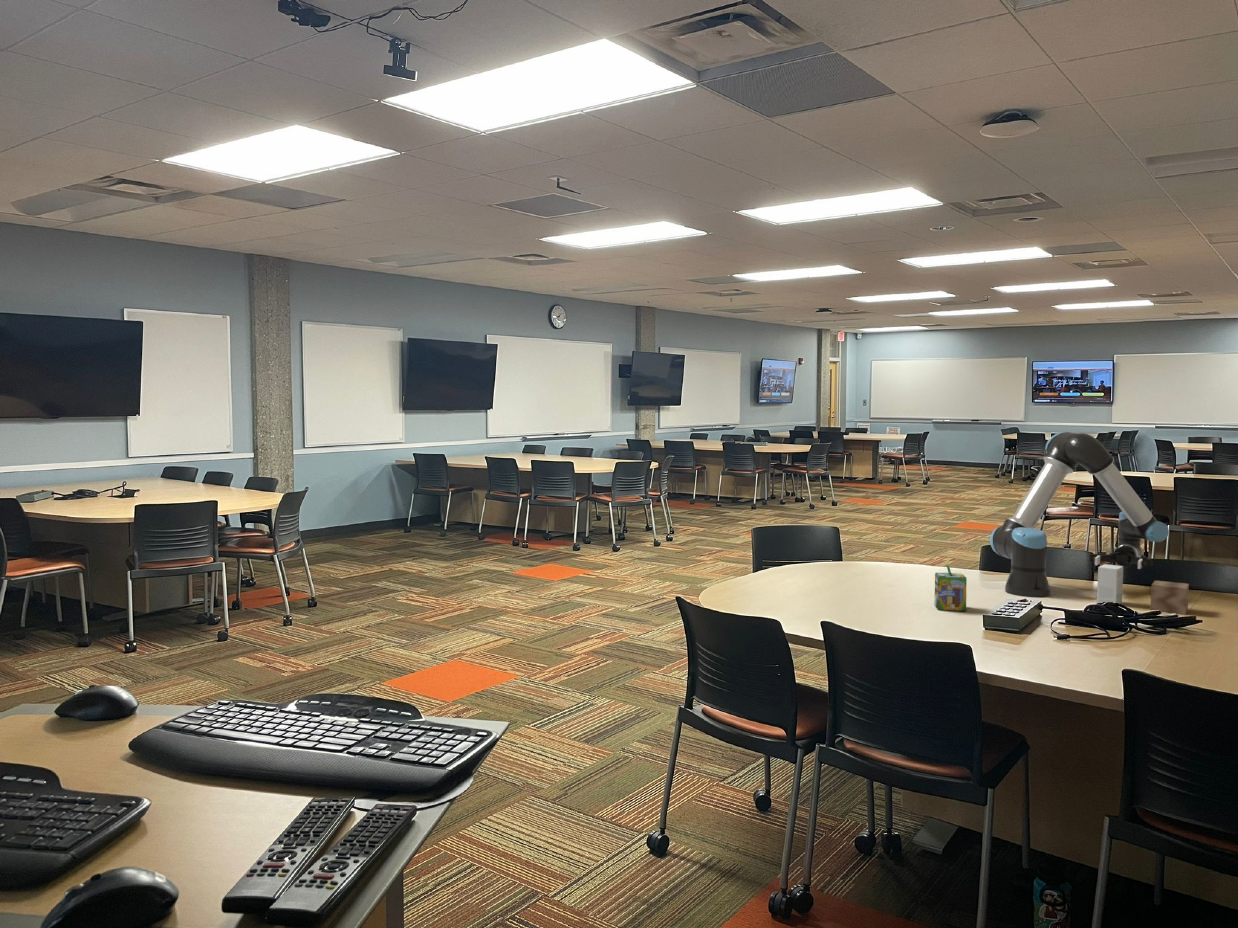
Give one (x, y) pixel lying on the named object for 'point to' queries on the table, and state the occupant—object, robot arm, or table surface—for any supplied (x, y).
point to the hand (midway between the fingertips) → (1117, 563)
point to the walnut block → (1169, 597)
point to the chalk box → (950, 591)
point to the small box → (1110, 583)
